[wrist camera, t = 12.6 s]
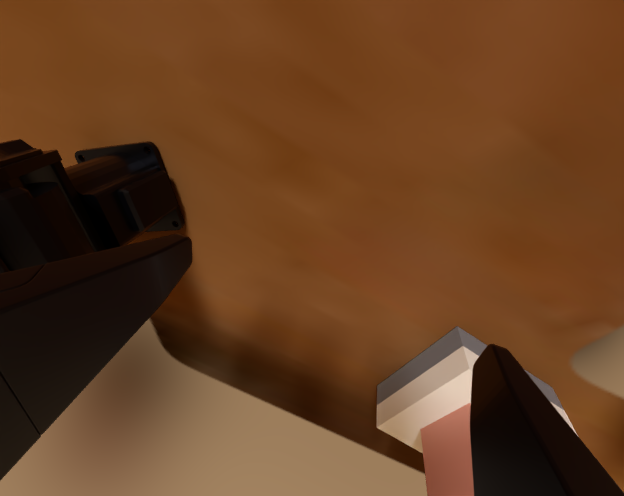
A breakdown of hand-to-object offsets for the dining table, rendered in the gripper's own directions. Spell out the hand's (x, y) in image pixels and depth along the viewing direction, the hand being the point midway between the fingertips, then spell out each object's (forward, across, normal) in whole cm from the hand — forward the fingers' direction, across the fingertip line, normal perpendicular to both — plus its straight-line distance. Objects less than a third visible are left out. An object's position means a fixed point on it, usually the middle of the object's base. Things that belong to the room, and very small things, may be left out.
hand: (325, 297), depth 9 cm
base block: (+14, -12, +17) cm, 25 cm away
